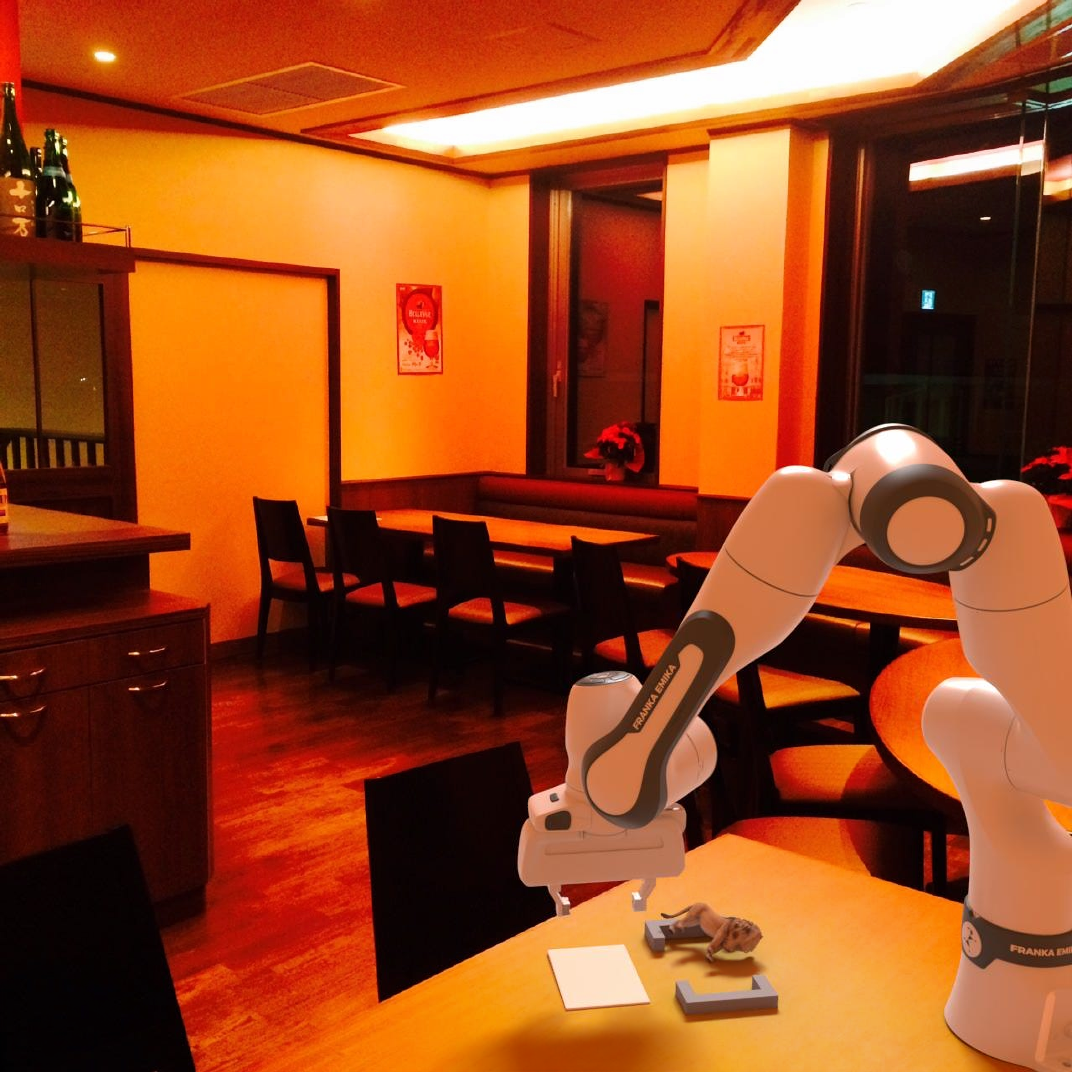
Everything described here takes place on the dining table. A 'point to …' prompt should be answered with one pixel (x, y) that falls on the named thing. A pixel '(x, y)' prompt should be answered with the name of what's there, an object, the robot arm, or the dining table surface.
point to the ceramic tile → (596, 977)
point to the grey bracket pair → (711, 1002)
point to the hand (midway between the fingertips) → (601, 912)
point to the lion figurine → (718, 929)
